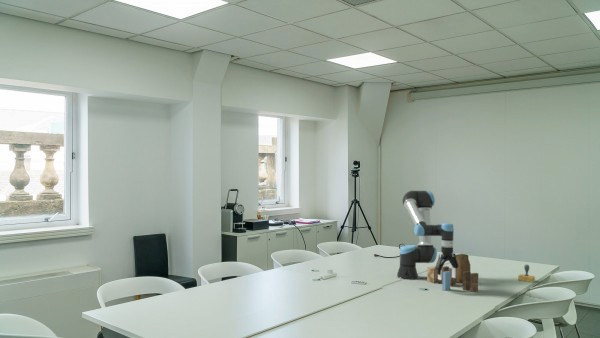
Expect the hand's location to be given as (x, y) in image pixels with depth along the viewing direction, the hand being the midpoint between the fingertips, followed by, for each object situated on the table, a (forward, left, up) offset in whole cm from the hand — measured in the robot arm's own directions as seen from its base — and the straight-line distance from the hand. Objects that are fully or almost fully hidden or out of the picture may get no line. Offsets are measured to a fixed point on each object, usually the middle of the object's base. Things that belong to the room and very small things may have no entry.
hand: (446, 278), depth 307 cm
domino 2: (0, 0, -8) cm, 8 cm away
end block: (-20, +13, -8) cm, 25 cm away
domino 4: (+6, +13, -8) cm, 16 cm away
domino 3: (-6, +13, -8) cm, 16 cm away
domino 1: (-12, +13, -8) cm, 20 cm away
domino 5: (+12, +13, -8) cm, 19 cm away
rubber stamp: (+9, +77, -8) cm, 78 cm away
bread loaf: (-10, +28, -8) cm, 31 cm away
